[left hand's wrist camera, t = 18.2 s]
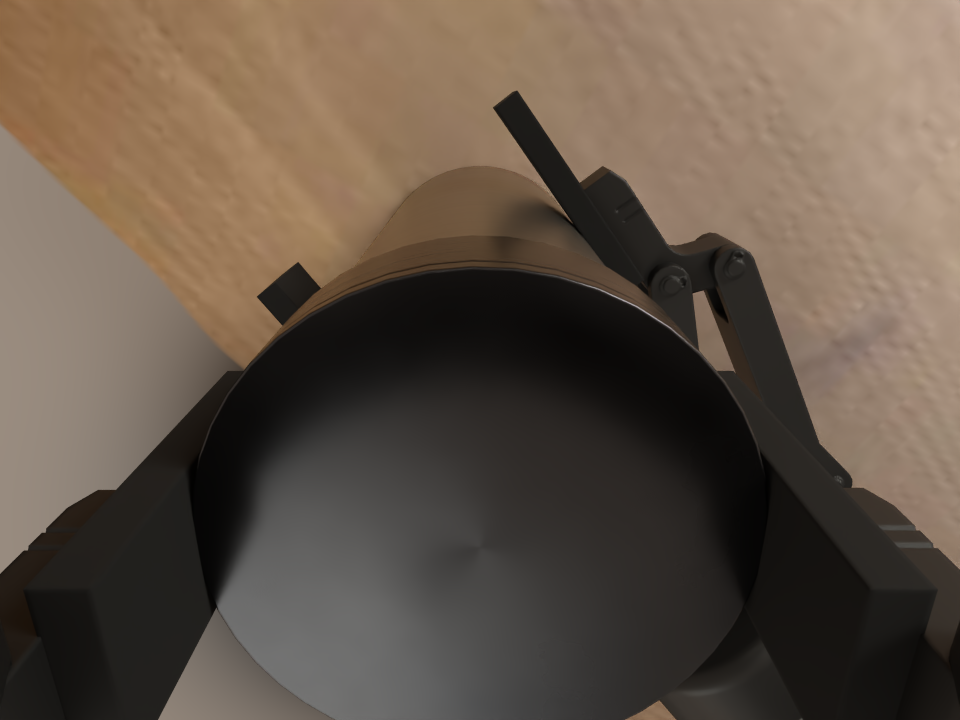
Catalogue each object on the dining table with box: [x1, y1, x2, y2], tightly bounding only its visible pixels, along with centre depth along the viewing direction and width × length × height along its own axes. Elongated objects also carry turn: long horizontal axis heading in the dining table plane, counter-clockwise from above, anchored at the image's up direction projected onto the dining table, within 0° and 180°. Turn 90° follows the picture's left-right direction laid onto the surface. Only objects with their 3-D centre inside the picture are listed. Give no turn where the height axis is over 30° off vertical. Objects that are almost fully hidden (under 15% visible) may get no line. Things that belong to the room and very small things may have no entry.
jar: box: [355, 166, 605, 267], centre depth 19 cm, size 8×8×18 cm
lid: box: [193, 235, 768, 720], centre depth 11 cm, size 9×9×2 cm
